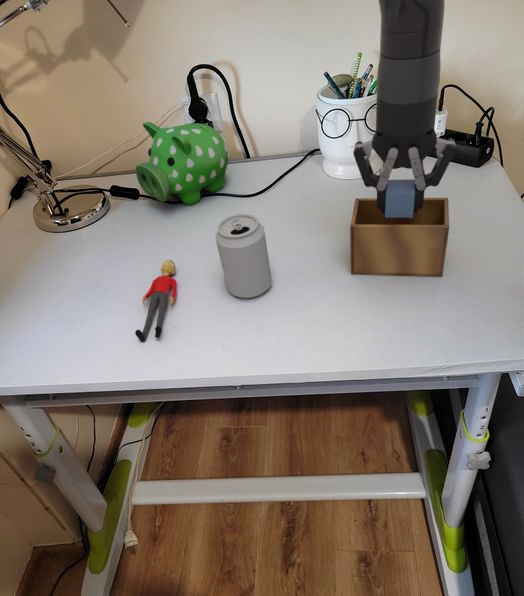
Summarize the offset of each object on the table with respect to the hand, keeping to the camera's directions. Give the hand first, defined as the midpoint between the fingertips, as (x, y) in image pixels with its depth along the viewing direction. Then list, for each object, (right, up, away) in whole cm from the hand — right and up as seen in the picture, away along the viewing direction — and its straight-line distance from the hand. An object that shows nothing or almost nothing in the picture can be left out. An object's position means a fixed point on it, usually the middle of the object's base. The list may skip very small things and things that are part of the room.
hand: (399, 209), depth 76 cm
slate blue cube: (0, 0, 0) cm, 0 cm away
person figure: (-37, -14, +8) cm, 40 cm away
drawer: (0, -6, +1) cm, 6 cm away
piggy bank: (-35, +12, +32) cm, 49 cm away
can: (-23, -11, +7) cm, 26 cm away
